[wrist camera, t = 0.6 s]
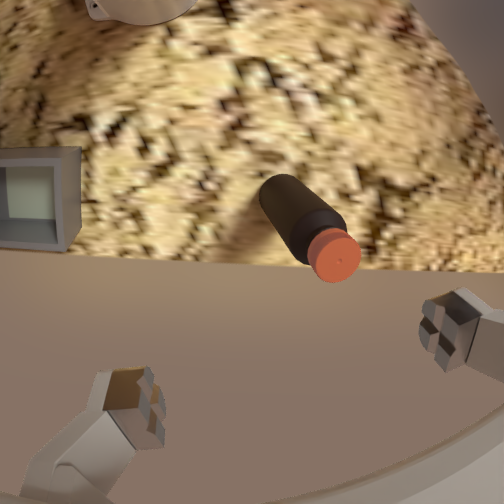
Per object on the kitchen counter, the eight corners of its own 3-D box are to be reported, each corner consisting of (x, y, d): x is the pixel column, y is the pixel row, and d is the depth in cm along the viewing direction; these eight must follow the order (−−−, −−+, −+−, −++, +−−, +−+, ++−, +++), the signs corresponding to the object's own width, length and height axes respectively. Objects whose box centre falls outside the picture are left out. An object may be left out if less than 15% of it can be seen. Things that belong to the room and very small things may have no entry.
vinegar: (261, 220, 48) (307, 298, 31) (255, 177, 45) (303, 236, 27) (304, 212, 49) (368, 282, 31) (300, 169, 46) (371, 221, 28)
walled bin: (-3, 223, 39) (-27, 245, 32) (-9, 149, 34) (-37, 161, 27) (81, 227, 43) (65, 251, 36) (81, 146, 38) (61, 157, 31)
